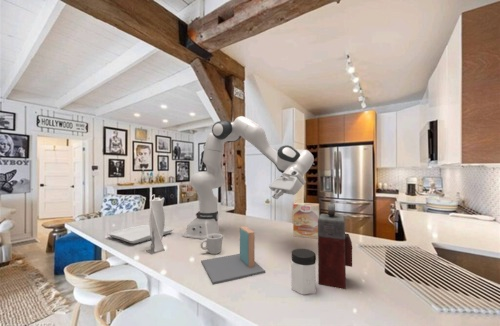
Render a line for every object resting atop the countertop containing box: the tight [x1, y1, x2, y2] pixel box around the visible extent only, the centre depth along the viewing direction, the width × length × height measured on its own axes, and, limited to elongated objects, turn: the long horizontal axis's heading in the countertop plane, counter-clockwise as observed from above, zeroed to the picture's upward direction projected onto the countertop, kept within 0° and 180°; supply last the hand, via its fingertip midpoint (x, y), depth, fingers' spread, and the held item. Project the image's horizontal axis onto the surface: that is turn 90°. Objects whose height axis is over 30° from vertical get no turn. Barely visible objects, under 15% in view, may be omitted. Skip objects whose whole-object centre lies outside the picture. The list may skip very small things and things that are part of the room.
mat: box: [200, 253, 266, 285], centre depth 91 cm, size 20×21×1 cm
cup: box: [200, 233, 224, 255], centre depth 106 cm, size 11×8×8 cm
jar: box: [290, 248, 317, 296], centre depth 75 cm, size 9×8×12 cm
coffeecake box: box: [292, 201, 320, 240], centre depth 132 cm, size 15×7×20 cm, turn 70°
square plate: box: [106, 223, 175, 244], centre depth 133 cm, size 27×27×4 cm
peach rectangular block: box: [239, 225, 256, 268], centre depth 94 cm, size 10×3×14 cm, turn 24°
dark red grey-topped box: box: [317, 203, 353, 290], centre depth 80 cm, size 9×11×28 cm
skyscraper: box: [145, 194, 166, 255], centre depth 110 cm, size 8×8×28 cm
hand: (274, 198), depth 103 cm, fingers closed
